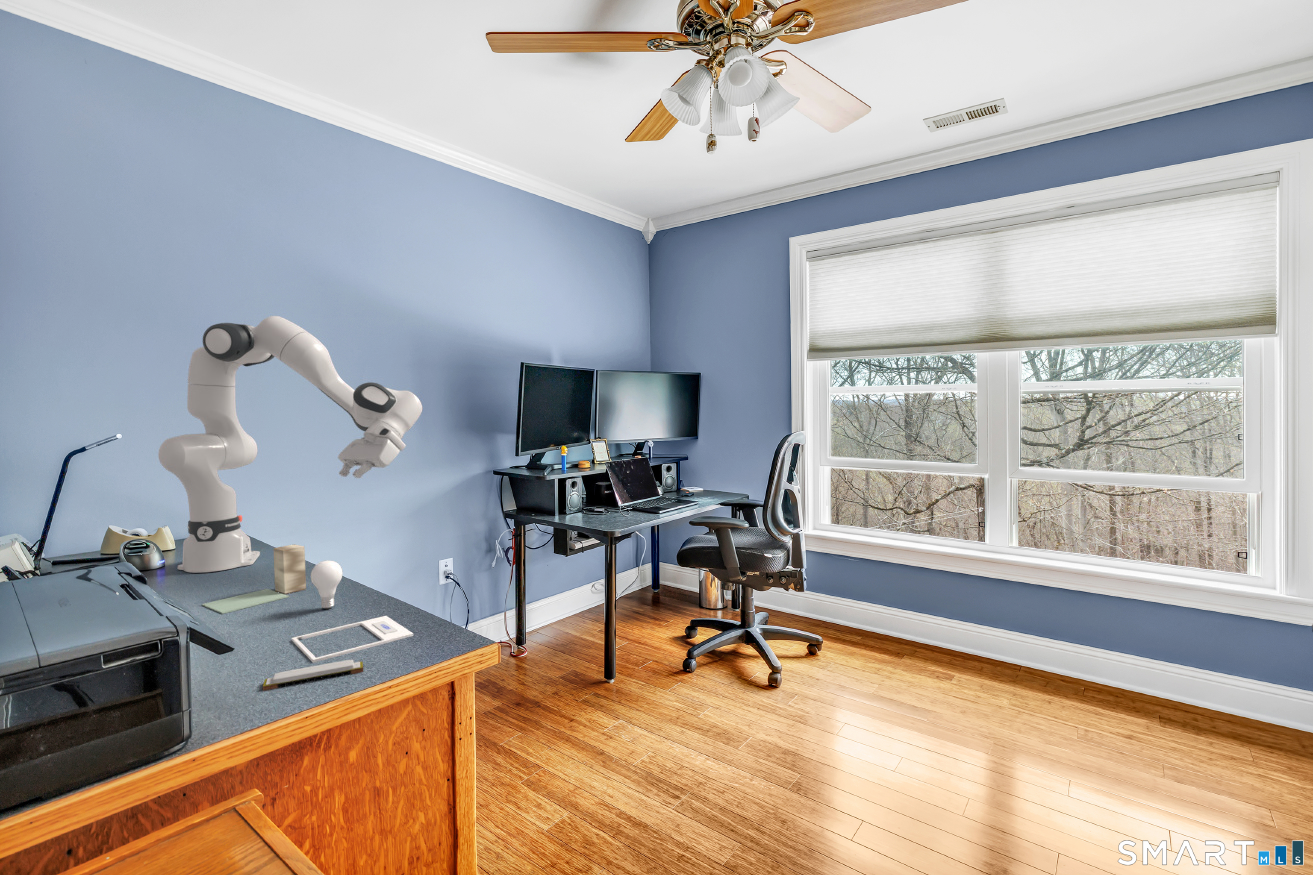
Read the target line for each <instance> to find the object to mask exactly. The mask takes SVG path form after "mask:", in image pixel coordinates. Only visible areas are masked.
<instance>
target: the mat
mask: <svg viewBox="0 0 1313 875" xmlns="http://www.w3.org/2000/svg"><path fill="white" fill-rule="evenodd" d="M287 598H290V595H289V594H286V595H285V594H282V593H278V592H275V590H272V589H270V588H269V589H268V588H265V589H261V590H260V589H259V590H256V591H253V592H248V593H242V594H239V595H236V596H231V597H226V598H222V599H218V600H214V601H208V602H205V603H202V604H201V606H203V607H205V608H207V609H209V610H212V611H215V612H217V613H219V614H227V613H231V612H235V611H236V612H237V611H240V610H243V609H247V608H252V607H256V606H260V605H263V604H267V603H271V602H276V601H279V600H283V599H287Z"/></svg>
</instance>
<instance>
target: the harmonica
mask: <svg viewBox="0 0 1313 875" xmlns="http://www.w3.org/2000/svg"><path fill="white" fill-rule="evenodd" d="M363 662H364V661H356V662H354V660H353V659H347V660H345V659H344V660H340V661H334V662H329V663H324V664H323V663H322V664H318V665H311V666H307V667H302V668H297V669H295V668H294V669H291V670H285V671H280V672H276V673H274V675H273V677H269V678H265V679H264V682H263V685H262V690H263V691H270V690H275V689H281V685H285V686H284V687H288V686H289V684H292V686H295V685H296V683H297V682H299V684H303V681H306V683H310V682H311V681H310V680H313V682H317V679H318V678H320V680H321V681H323V680H324V677H327V679H331V676H333V675H334V678H338V675H339V674H340V675H341V677H343V676H345V673H348V675H355V674H360V673H363V672H364V663H363Z"/></svg>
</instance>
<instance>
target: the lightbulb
mask: <svg viewBox="0 0 1313 875" xmlns="http://www.w3.org/2000/svg"><path fill="white" fill-rule="evenodd" d="M342 578H343V569H342V567H341V565H340V564H339V563H338V562H336V561H333V560H322V561H320V562H317V564H315V565H314V567H313V568H312V570H311V572H310V580H311V583H312V584H313V585H314V586H315V588H316V589H317V591H318V594H319V596H320V600H321V601H320V602H321V604H320V606H321V608H322V609H326V610H329V609H332V607H334V606H335V594H336V590H337V587H338V585H339V584H340V582H341V580H342Z"/></svg>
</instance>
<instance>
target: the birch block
mask: <svg viewBox="0 0 1313 875" xmlns="http://www.w3.org/2000/svg"><path fill="white" fill-rule="evenodd" d="M272 550H273V570H274V574H273V575H274V591H275V592H279V593H282V594H285V595H290V594H294V593H296V592H297V593H298V592H302V591H305V589H306V590H307V580H306V579H307V578H306V550H305V546H302V545H300V544H290V545H289V544H288V545H283V546H279V547H278V546H277V547H273V549H272ZM301 590H302V591H301ZM293 592H294V593H293ZM289 593H290V594H289Z"/></svg>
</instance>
